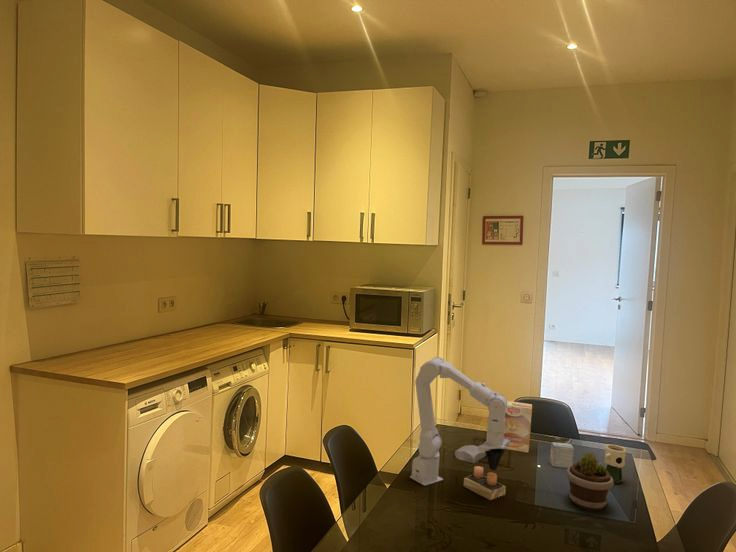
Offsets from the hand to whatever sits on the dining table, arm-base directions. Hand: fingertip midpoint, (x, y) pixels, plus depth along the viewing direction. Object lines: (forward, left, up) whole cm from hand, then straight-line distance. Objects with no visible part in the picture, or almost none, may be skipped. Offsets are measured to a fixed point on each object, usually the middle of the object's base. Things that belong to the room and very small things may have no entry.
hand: (492, 469), depth 182 cm
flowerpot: (+24, -22, -9) cm, 34 cm away
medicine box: (+46, +2, -9) cm, 47 cm away
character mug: (+51, -17, -9) cm, 55 cm away
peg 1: (0, +6, -5) cm, 8 cm away
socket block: (0, +3, -9) cm, 9 cm away
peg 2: (0, 0, -5) cm, 5 cm away
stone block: (+19, +27, -9) cm, 34 cm away
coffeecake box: (+44, +25, -9) cm, 51 cm away
